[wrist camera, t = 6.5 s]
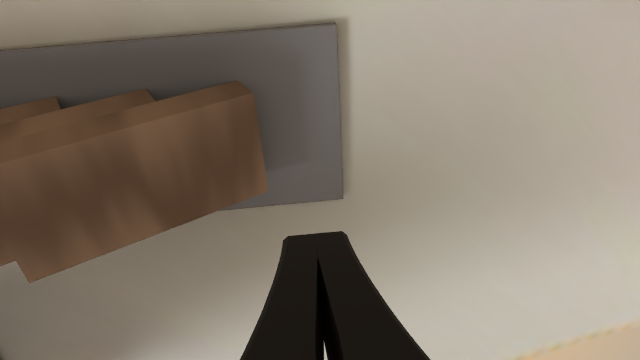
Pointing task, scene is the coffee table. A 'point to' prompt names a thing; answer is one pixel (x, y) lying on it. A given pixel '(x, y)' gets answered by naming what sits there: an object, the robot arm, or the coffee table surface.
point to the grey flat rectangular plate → (207, 71)
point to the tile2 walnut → (64, 117)
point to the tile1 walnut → (127, 176)
